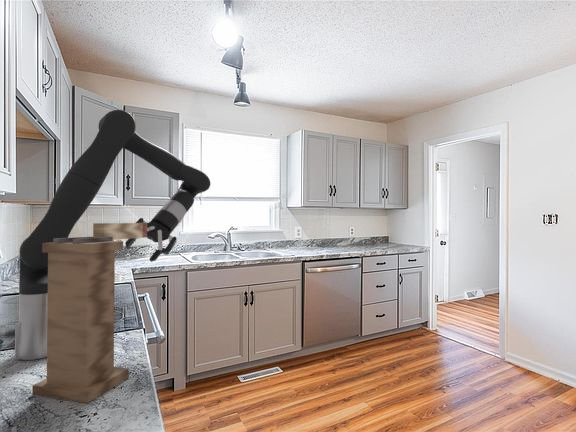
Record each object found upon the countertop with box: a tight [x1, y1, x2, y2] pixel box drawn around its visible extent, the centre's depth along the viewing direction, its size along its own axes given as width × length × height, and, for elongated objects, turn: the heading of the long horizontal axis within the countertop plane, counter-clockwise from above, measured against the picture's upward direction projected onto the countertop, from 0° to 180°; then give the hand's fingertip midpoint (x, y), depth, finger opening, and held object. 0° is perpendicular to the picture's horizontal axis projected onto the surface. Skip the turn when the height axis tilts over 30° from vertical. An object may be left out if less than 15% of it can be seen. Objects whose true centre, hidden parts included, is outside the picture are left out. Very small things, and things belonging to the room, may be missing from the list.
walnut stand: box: [32, 236, 130, 404], centre depth 76 cm, size 12×14×33 cm
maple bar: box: [92, 222, 148, 241], centre depth 88 cm, size 16×3×4 cm, turn 166°
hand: (138, 253), depth 106 cm, fingers open, 8 cm apart
